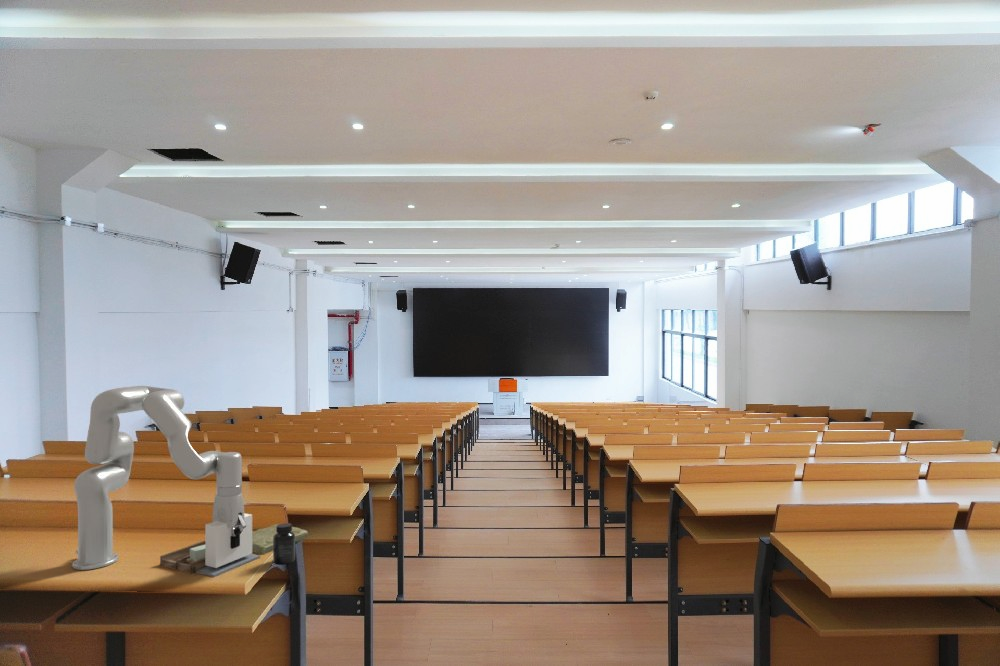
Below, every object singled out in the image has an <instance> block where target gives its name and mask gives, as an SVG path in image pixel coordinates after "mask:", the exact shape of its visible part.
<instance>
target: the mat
mask: <svg viewBox="0 0 1000 666" xmlns="http://www.w3.org/2000/svg"><path fill="white" fill-rule="evenodd" d="M260 558H261V555H260V554H259V555H258V554H253V553H252V554H249V555H247V556H244V557H242V558H239V559H237V560H234V561H232V562H229V563H227V564H225V565H222V566H220V567H217V568H214V567H210V566H207V567H205V568H202V569H200V570H197V572H196V574H200V575H204V576H209V577H212V578H215V577H217V576H219V575H222V574H225V573H227V572H229V571H231V570H234V569H236V568H238V567H241V566H244V565H245V564H249V563H250V562H253V561H255V559H256V560H258V559H260Z"/></svg>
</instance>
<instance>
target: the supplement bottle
mask: <svg viewBox="0 0 1000 666" xmlns="http://www.w3.org/2000/svg"><path fill="white" fill-rule="evenodd" d="M292 527H293V524H292V523H290V522H289V523H288V522H287V523H286V522H285V523H284V522H283V523H278V525H277V527H276V532H277V533H276V534H275V535H274V537H273V551H272V552H273V555H272V559H273V563H274V564H275V565H278V566H285V565H289V564H292V563H293V562H295V560H296V542H295V534H294V533H293V532H292Z"/></svg>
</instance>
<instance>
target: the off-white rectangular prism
mask: <svg viewBox="0 0 1000 666" xmlns="http://www.w3.org/2000/svg"><path fill="white" fill-rule="evenodd" d="M244 522H245V524H246V528H245V529H243V531H242V532H241V534H240V546H238V547H236V548H233V549H231V536H232V533H231V528H228V527H227V523H224V522H219V521H215V522H213V521H212V522H209V523H207V524H205V528H204V529H205V532H204V533H205V537H204V538H205V540H204V541H205V565H206V566H210V567H214V568H217V567H220V566H222V565H225V564H227V563H229V562H232V561H234V560H237V559H239V558H242V557H244V556H247V555H249V554H253V551H252V531H253V514H251V513H245V512H244ZM236 525H237V524H236ZM236 529H237V527H236V528H235V531H236Z"/></svg>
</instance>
